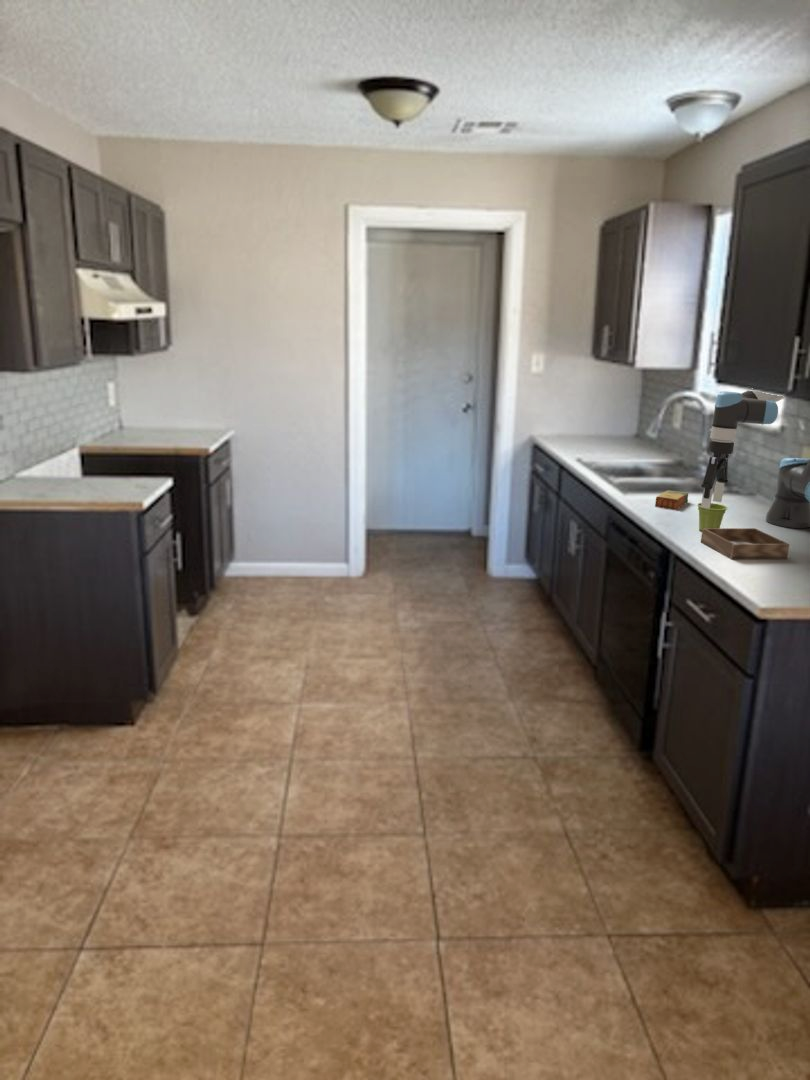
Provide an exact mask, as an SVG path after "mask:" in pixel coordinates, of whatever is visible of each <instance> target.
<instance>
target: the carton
mask: <svg viewBox="0 0 810 1080" xmlns="http://www.w3.org/2000/svg"><path fill="white" fill-rule="evenodd" d="M688 498H689V492H684V491H677V490H670V489H667V490H666V491H664V492H662V493H661V494H659V495H657V496H656V497H655V503H654V507H656V508H662V507H664V508H663V509H668V508H672V509H671V510H675V509H677V510H679V509H680V508H681V506H682V505H683V506H685V505H686V504H687V502H688V501H689V499H688ZM685 503H686V504H685ZM683 506H682V507H683ZM679 507H680V508H679ZM678 508H679V509H678Z"/></svg>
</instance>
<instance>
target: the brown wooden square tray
mask: <svg viewBox="0 0 810 1080" xmlns="http://www.w3.org/2000/svg"><path fill="white" fill-rule="evenodd" d="M700 537H701V539H700V543H701V544H703V545H705V546H706V547H708V548H710V549H712V550H714V551H715V552H717V553H719V554H721V555H722V556H725V557H726V558H729V559H730V560H787V559H788V556H789V549H790V545H791V544H789V543H787V542H785V541H783V540H780V539H779V538H778V537H777V538H776V537H774V535H770V534H768V533H766V532H763V531H762V530H760V529H757V528H755V527H754V528H751V527H749V528H748V527H747V528H745V527H741V528H739V527H738V528H734V527H733V528H728V527H727V528H724V527H723V528H722V527H720V528H714V529H702V531H701V536H700Z"/></svg>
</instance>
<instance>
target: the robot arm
mask: <svg viewBox="0 0 810 1080" xmlns="http://www.w3.org/2000/svg"><path fill="white" fill-rule="evenodd" d="M784 399H787V397H783V396H777V395H771V394H766V393H762V392H758V391H754V390H750V389H748V390H746V391H744V392H742V393H740V392H735V391H725V390H724V391H720V392H718V393H717V397H716V400H715V404H714V411H713V418H712V423H711V425H712V426H711V428H709V432H710V436H709V437H710V440H709V441H708V448H707V451H708V452H710V453H712V455H713V456H710V457H709V460H708V464H707V468H706V470H705V471H706V472H705V476H704V479H703V482H702V484H701V486H700V487H701V488H703V491H702V497H701V502H700V503H701V507H702V508H707V509H710V505H711V503H712V502H716V503H722V501H723V496H724V489H725V485H726V484H728V482H729V479H728V469H729V466H728V465H729V456H730V455H731V454H733V452H734V446H735V443H734V442H735V441H736V435H737V430H738V425H739V424H755V425H762V426H763V425H772V424H774V422H775V421H776V420H777V418H778V414H779V406H778V404H777V403H778V402H780V401H782V400H784ZM776 481H777V482H776V488H775V494H774V498H773V501H772V503H771V505H770V507H769V509H768V511H767V512H766V515H765V521H766V522H767V523H769V524H772V525H774V526H778V527H784V528H791V529H807V528H806V527H810V458H801V457H784V458H782V459H781V461H780V465H779V467H778V475H777V480H776ZM725 483H726V484H725ZM713 487H714V488H713Z"/></svg>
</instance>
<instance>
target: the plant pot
mask: <svg viewBox="0 0 810 1080" xmlns="http://www.w3.org/2000/svg"><path fill="white" fill-rule="evenodd" d="M701 503H702V502H698V503H697V504H696V506H697V507H698V508H697V510H698V530H699V531H701V532H702V529H714V528H721V525H722V521H723V518H724V515H725V513H726V511H727V510H728V506H727V505H723V504H719V503H713V502H711V505H710V509H707V508H702V507H701Z"/></svg>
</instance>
